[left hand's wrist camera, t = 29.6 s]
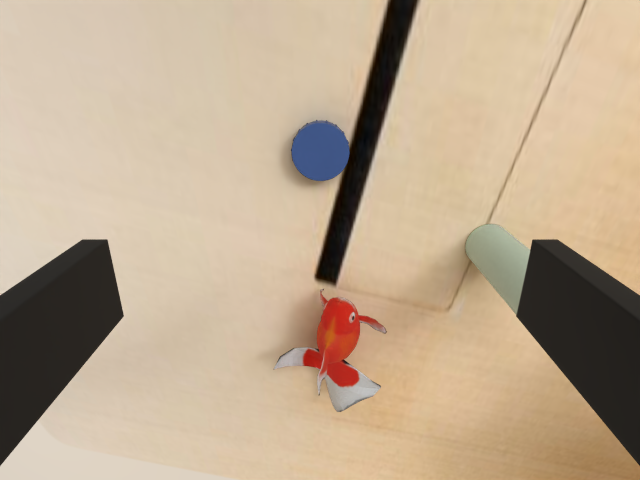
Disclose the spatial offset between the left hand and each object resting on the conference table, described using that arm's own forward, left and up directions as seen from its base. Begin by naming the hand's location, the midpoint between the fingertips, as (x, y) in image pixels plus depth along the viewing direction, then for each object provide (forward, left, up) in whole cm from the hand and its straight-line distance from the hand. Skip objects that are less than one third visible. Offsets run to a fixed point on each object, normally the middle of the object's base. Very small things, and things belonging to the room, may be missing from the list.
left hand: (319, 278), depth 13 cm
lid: (0, 0, -25) cm, 25 cm away
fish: (+17, -12, -27) cm, 34 cm away
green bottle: (+19, +7, -27) cm, 33 cm away
